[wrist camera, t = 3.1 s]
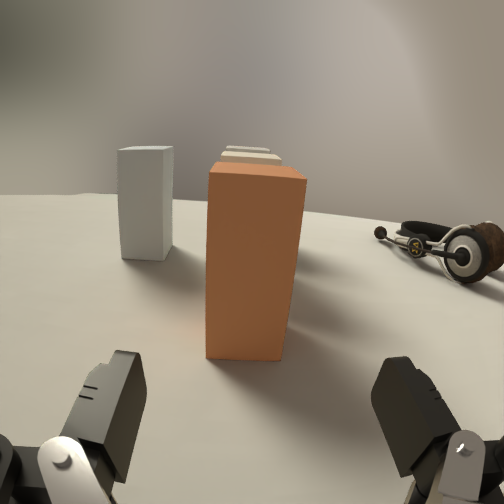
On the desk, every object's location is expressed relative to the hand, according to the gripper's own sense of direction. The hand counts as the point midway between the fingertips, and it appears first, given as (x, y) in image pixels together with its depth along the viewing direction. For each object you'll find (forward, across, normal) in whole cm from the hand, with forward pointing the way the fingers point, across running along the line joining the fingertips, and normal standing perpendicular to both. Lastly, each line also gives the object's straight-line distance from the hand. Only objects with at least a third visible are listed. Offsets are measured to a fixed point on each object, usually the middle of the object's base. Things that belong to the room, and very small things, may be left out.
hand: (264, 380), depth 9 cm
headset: (+29, -29, +7) cm, 42 cm away
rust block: (+11, 0, +7) cm, 13 cm away
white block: (+26, +11, +7) cm, 29 cm away
